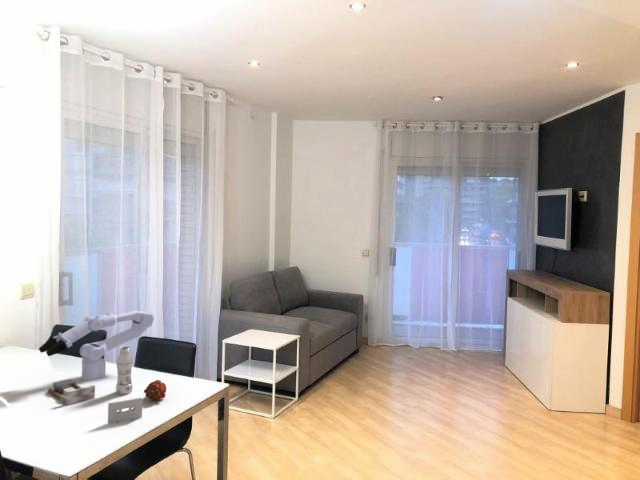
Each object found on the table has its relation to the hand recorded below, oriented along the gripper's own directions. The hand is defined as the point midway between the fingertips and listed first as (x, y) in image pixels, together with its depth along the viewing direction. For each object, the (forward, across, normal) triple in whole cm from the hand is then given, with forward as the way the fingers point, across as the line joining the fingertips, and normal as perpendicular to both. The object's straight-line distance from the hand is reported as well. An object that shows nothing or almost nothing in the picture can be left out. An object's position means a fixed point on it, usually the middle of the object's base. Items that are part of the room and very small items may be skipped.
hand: (43, 352), depth 206 cm
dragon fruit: (-19, +40, +28) cm, 52 cm away
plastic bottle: (-13, +26, +25) cm, 38 cm away
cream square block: (+2, +14, +16) cm, 22 cm away
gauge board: (+2, +14, +17) cm, 23 cm away
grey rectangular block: (+2, +9, +16) cm, 19 cm away
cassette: (-1, +50, +20) cm, 54 cm away
